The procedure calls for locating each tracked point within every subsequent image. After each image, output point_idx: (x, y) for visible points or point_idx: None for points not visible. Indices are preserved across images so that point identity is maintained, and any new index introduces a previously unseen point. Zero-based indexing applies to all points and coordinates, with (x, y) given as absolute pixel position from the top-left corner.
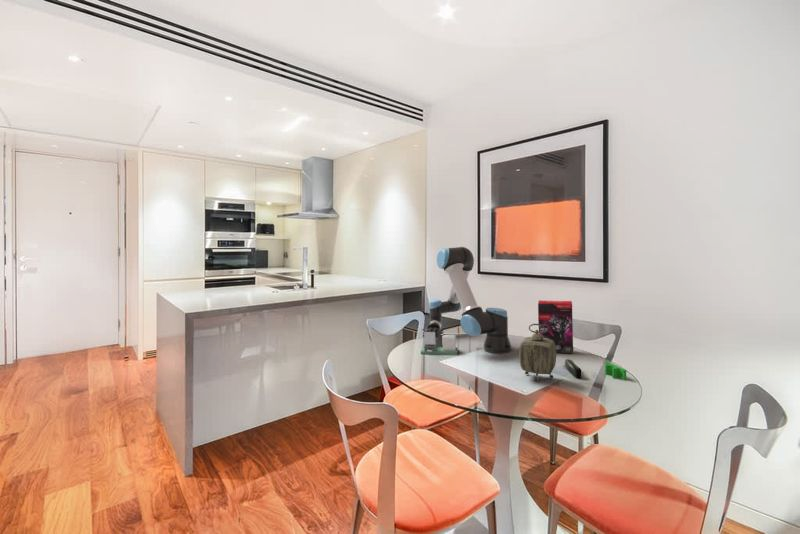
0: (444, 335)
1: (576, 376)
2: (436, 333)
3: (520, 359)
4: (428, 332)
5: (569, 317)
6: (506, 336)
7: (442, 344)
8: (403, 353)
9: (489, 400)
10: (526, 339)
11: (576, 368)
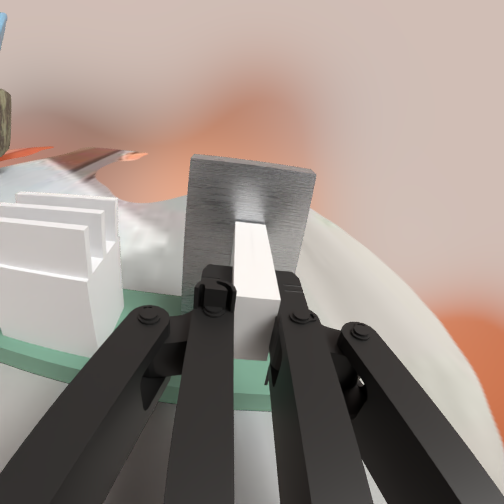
0: (70, 226)
1: None
2: (151, 305)
3: (9, 128)
4: (263, 162)
5: None
6: None
7: (120, 261)
8: (410, 331)
9: (109, 154)
10: None
11: None
